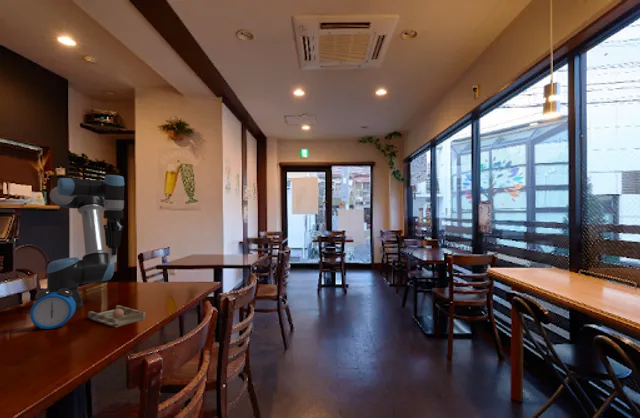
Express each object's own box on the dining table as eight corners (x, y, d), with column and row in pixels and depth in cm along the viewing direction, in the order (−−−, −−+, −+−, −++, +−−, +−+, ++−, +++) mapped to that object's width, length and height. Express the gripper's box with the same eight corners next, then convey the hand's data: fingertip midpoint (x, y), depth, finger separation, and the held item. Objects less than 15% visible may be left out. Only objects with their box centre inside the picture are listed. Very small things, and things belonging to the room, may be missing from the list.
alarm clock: (28, 332, 121) (29, 292, 121) (35, 327, 126) (36, 288, 127) (71, 327, 126) (72, 288, 127) (75, 322, 132) (76, 285, 132)
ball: (115, 320, 133) (110, 318, 135) (125, 318, 137) (119, 315, 139) (116, 311, 133) (111, 308, 135) (126, 309, 137) (120, 306, 139)
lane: (88, 318, 137) (88, 311, 138) (118, 311, 148) (118, 304, 148) (115, 327, 126) (115, 319, 126) (145, 319, 136) (145, 311, 136)
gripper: (97, 209, 144) (96, 262, 144) (111, 209, 137) (110, 264, 137) (115, 209, 150) (114, 260, 150) (130, 210, 144) (128, 262, 143)
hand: (112, 262), depth 144 cm, fingers closed
